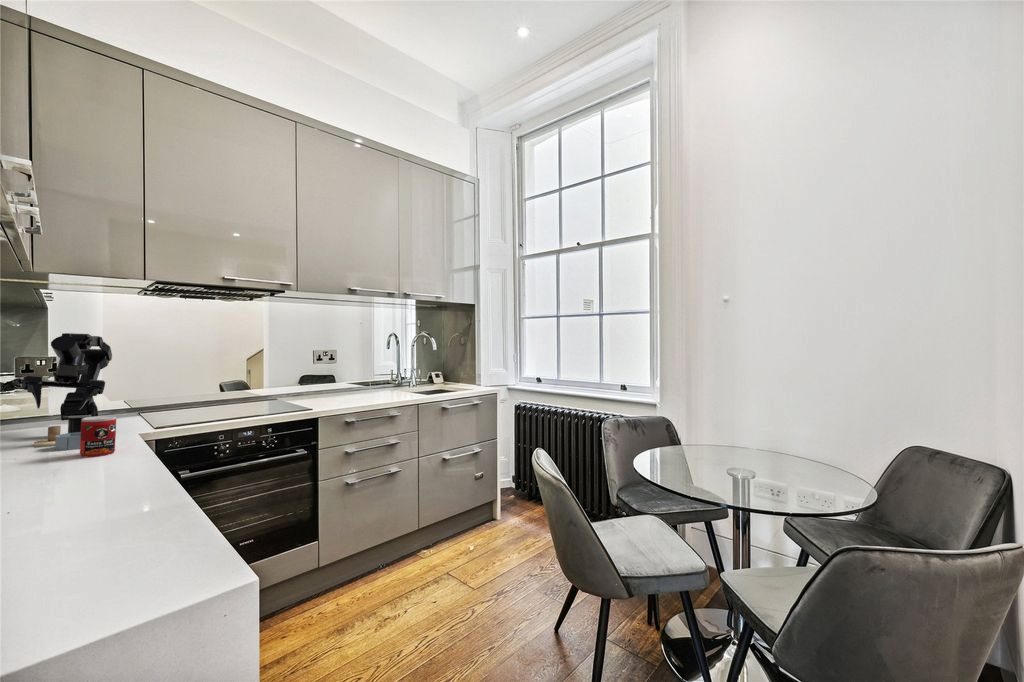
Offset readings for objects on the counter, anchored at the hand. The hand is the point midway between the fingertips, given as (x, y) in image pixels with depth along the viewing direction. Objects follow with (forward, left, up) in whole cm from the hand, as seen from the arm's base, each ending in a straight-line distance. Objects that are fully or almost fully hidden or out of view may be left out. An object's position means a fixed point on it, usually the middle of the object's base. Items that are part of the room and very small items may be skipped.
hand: (59, 408), depth 137 cm
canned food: (+20, +9, -12) cm, 25 cm away
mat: (-5, -1, -12) cm, 13 cm away
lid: (-5, -1, -12) cm, 13 cm away
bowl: (+6, +4, -12) cm, 14 cm away
